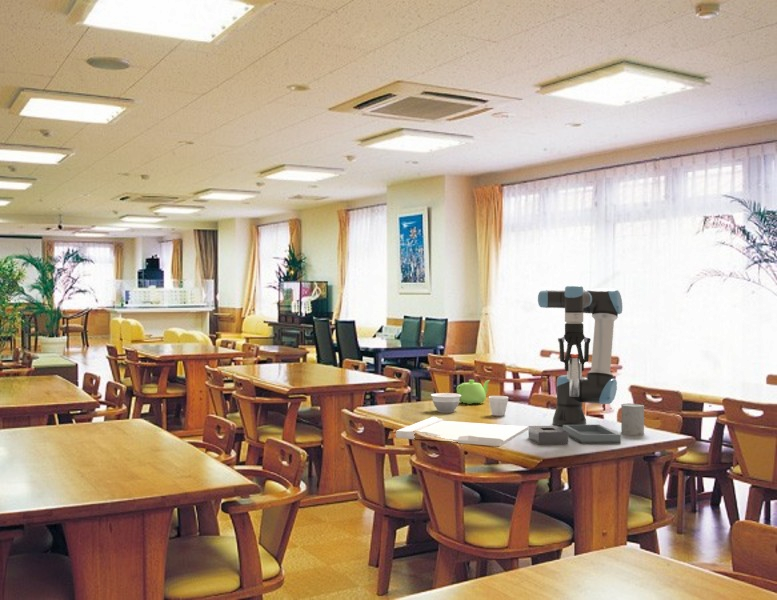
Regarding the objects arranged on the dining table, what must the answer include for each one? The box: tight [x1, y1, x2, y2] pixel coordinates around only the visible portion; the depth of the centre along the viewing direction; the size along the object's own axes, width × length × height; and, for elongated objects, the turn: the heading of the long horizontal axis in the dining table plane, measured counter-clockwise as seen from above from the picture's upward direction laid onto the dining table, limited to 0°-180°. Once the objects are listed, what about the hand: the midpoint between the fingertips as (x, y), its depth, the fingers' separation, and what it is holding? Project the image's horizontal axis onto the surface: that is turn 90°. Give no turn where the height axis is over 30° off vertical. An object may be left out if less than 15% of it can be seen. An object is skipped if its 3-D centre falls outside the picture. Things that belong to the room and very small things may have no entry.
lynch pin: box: [569, 353, 580, 397], centre depth 331 cm, size 4×4×17 cm
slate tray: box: [562, 424, 622, 445], centre depth 334 cm, size 26×16×4 cm, turn 4°
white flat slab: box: [395, 416, 529, 447], centre depth 345 cm, size 45×45×4 cm
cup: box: [488, 395, 509, 417], centre depth 398 cm, size 10×10×9 cm
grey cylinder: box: [620, 403, 645, 436], centre depth 346 cm, size 10×10×12 cm
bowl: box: [430, 392, 461, 414], centre depth 412 cm, size 16×16×9 cm
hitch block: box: [528, 425, 569, 446], centre depth 326 cm, size 16×12×5 cm
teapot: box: [456, 379, 491, 405], centre depth 444 cm, size 22×15×13 cm
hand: (574, 378), depth 331 cm, fingers closed on lynch pin, 4 cm apart
